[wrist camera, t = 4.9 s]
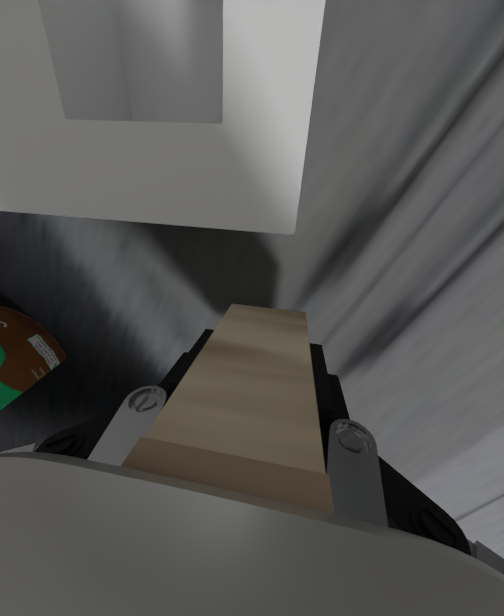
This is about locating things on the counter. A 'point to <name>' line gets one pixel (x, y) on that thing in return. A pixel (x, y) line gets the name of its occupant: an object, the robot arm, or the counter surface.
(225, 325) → the plug
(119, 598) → the robot arm
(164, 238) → the counter surface
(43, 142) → the socket block
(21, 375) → the food container
